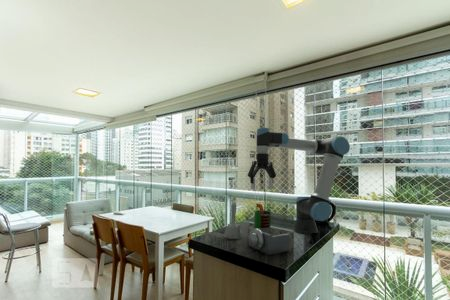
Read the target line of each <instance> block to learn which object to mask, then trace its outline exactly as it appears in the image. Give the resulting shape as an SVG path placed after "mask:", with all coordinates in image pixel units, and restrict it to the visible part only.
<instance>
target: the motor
mask: <svg viewBox="0 0 450 300" xmlns="http://www.w3.org/2000/svg"><path fill="white" fill-rule="evenodd" d="M255 205H256V208H259V210H254V217H253V219H254V220H253V228H266V227H269V228H270V229H271V217H272V214H271V213H272V212H271V211H270V210H265V209H264V206H263V204H262V203H256V204H255Z"/></svg>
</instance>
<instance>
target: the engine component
mask: <svg viewBox="0 0 450 300" xmlns="http://www.w3.org/2000/svg"><path fill="white" fill-rule="evenodd" d="M230 206H231V208H230V212H231V223H228V224H227V226H225V230H224V237H225V238H226V239H230V240H237V239H241V238H242V230H241V229H242V227H241V225H240V223H236V214H237V201H231V205H230Z"/></svg>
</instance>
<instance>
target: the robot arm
mask: <svg viewBox="0 0 450 300" xmlns="http://www.w3.org/2000/svg"><path fill="white" fill-rule="evenodd" d="M255 147H256V149H255V150H256V151H255V152H256V155H255V156H256V157H255V159H256V160H252V163H251V167H250V169H249V171H248V173H247V175H246V176H247V177H249V178H250V179H249V180H250V189H251V190H256V177H255V176H256V175H257V174H258V172H259V171H260V170H265V172H266V174H267V175H268V177H269V178H268V190H269V189H270V190H273V188H274V179H275V178H276V177H277V174H276V172H275V169H274V165H273V161H269V159H270V154H269V153H270V148H281V149H288V150H295V151H304V152H309V153H311V154H314V155H321V156H323V158H324V159H323V162H322V166H321V170H320V172H319V176H318V179H317V182H316V186H315V189H314V193H311V194H310V196H297V197H296V202H295V203H296V204H295V205H296V209H295V210H296V213H295V215H296V216H295V217H296V219H295V222H294V225H293V231H294V232H295V231H296V232H295V233H297V232H299V233H298V234H302V233H304V234H303V235H313V234H312V233H317V232H318V230H319V229H318V228H317V224H316V221H318V222H319V221H320V222H324V221H326V220H328V219H330V217H331V215H332V212H333V211H332V210H333V209H332V206H331V200H330V195H331V191H332V187H333V184H334V180H335V176H336V174H337V170H338V166H339V163H340V162H342V161H343V158H344V155H346V154H348V153H349V152H350V149H351V148H350V147H351V145H350V142H349V141H348V139H347V138H346V137H344V136H341V135H340V136H333V137H328V138H323V139H312V140H309V139H302V138H296V137H295V138H294V137H289V134H288V133H287V132H282V131H281V132H280V131H279V132H277V131H270V128H269V127H265V126H264V127H258V128H257V129H256V146H255ZM317 234H318V233H317Z"/></svg>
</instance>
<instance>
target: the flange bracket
mask: <svg viewBox="0 0 450 300" xmlns="http://www.w3.org/2000/svg"><path fill="white" fill-rule="evenodd" d="M247 246H248V247H250V248H253V249H254V250H255V251H259V252H261V253H263V254H266V255H267V256H269V255H271V256H272V255H275V254H281V253H284V252H289V251H290V250H291V249H290V233H283V234H282V233H281V234H274V235H272V234H271V227H270V228H269V227H266V228H254V227H248V228H247Z"/></svg>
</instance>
